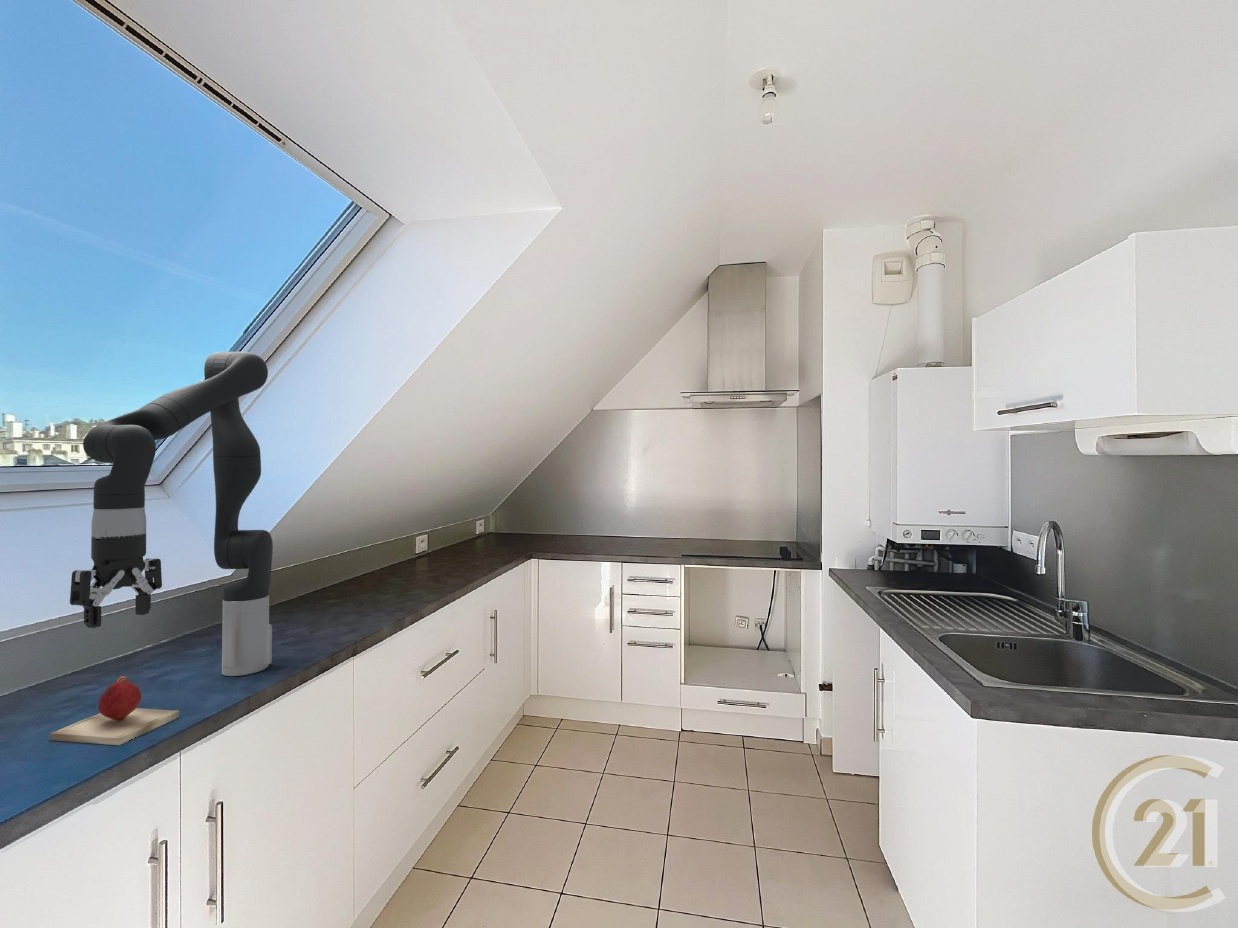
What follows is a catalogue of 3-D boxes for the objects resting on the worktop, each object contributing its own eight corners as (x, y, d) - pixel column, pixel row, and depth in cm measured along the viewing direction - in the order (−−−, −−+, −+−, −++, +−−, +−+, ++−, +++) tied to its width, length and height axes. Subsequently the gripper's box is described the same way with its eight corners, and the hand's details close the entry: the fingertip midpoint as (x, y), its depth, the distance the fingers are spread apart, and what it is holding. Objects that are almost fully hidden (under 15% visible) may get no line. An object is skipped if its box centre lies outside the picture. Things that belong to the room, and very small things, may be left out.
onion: (109, 730, 97) (110, 684, 97) (90, 724, 99) (91, 680, 99) (147, 716, 102) (148, 673, 103) (129, 711, 105) (130, 669, 105)
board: (116, 712, 107) (116, 706, 107) (179, 716, 105) (179, 710, 105) (50, 739, 96) (50, 732, 96) (119, 745, 94) (119, 737, 94)
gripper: (140, 528, 109) (140, 609, 108) (57, 537, 94) (56, 631, 94) (173, 528, 107) (173, 611, 107) (94, 537, 93) (94, 632, 93)
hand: (118, 620), depth 101 cm, fingers open, 8 cm apart
